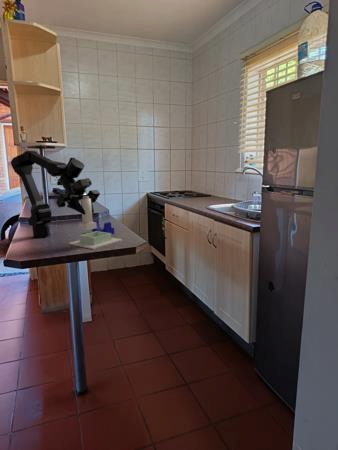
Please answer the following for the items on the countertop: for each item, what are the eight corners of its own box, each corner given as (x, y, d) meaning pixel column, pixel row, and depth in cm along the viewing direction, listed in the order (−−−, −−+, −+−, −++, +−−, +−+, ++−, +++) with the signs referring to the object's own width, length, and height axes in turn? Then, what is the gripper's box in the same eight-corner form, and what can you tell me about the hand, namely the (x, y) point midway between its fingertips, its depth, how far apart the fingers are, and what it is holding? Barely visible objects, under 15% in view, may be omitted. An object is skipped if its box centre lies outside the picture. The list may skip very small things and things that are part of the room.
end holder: (68, 244, 130) (68, 236, 129) (97, 236, 143) (97, 229, 142) (93, 249, 121) (92, 240, 120) (122, 240, 133) (121, 232, 133)
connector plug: (79, 229, 127) (76, 196, 124) (89, 226, 131) (86, 195, 128) (87, 230, 124) (84, 197, 121) (96, 228, 128) (94, 196, 125)
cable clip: (114, 234, 148) (113, 221, 147) (106, 235, 145) (105, 223, 144) (99, 231, 156) (98, 219, 155) (92, 232, 153) (91, 220, 151)
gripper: (57, 173, 118) (77, 202, 113) (95, 171, 132) (114, 197, 128) (48, 192, 124) (66, 221, 120) (85, 188, 139) (103, 214, 134)
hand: (89, 213), depth 125 cm, fingers closed on connector plug, 4 cm apart
